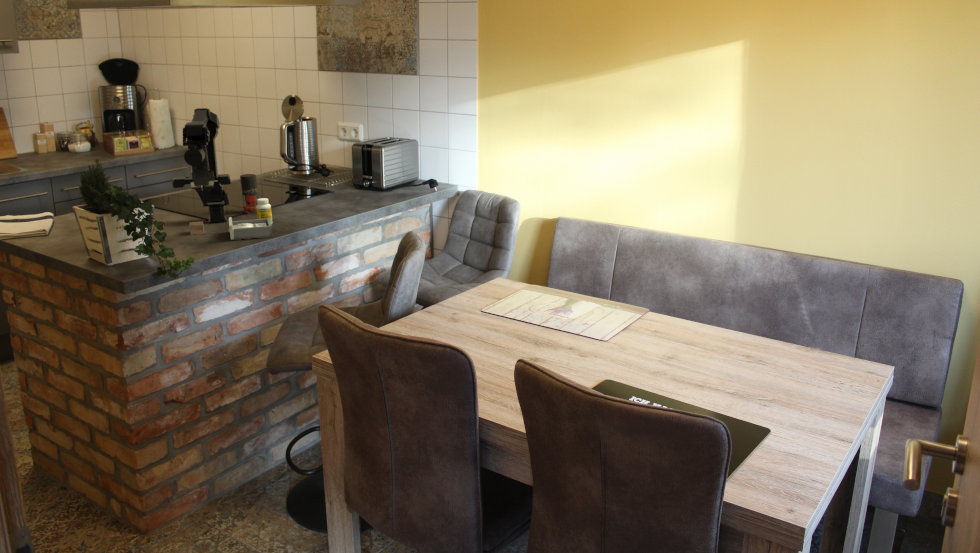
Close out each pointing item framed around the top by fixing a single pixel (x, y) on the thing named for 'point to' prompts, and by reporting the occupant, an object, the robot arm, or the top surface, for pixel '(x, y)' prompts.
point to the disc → (244, 225)
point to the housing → (253, 229)
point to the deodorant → (249, 193)
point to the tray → (235, 228)
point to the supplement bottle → (264, 209)
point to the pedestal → (196, 228)
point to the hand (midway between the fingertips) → (205, 205)
